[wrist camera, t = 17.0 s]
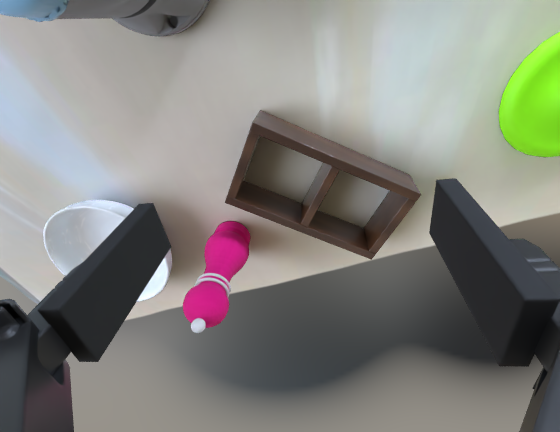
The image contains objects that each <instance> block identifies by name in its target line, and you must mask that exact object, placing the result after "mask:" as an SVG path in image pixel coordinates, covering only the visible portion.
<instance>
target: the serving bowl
mask: <svg viewBox="0 0 560 432" xmlns="http://www.w3.org/2000/svg"><path fill="white" fill-rule="evenodd" d="M133 210H134V208H132V207H130V206H127V205H124V204H121V203H118V202H114V201H108V200H88V201H82V202H78V203H75V204H72V205H70V206H67V207H65V208H63V209H61V210H59V211H58V212H56V213H55V214H53V215H52V216H51V217H50V218H49V220H48V221H47V223H46V225H45V228H44V233H43V238H44V245H45V248H46V251H47V253H48V255H49V257H50V259H51V260H52V262H53V263H54V265H55V266H56V267H57V268H58V269H59V271H60V272H61V273H62V274H63V275H64V276H66V275H67V274H68V273H69V272H70V271H71V270H72V269H74V268H75V267H77V266H78V265H79V264H81V263H82V262H84V261H85V260H86V259H87V258H88V257H89V255H90V254H91V253H92V252H93V251H94V250H95V249H96V248H97V247H98V246H99V245H100V244H101V243H102V242H103V241H104V240H105V239H106V238H107V237H108V236H109V235H110V234H111V233H112V232H113V230H114V229H115V228H116V227H117V226H118V225H119V224H120V223H121V222H122V221H123V220H124V219H125V218H126V217H127V216H128V215H129V214H130V213H131V212H132V211H133ZM171 268H172V254H171V249H170V250H169V251H168V253H167V254H166V256H165V258H164V259H163V261H162V262H161V264H160V265H159V267H158V269H157V270H156V272H155V273H154V275H153V276H152V278H151V280H150V281H149V283H148V284H147V286H146V287H145V289H144V290H143V292H142V294H141V295H140V297H139V298H138V300H137V301H136V302H139V301H144V300H147V299H150V298H152V297H154V296H156V295H157V294H159V293H160V292H161V291H162V290H163V289H164V287H165V286H166V284H167V282H168V279H169V276H170V273H171Z"/></svg>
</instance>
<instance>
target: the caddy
mask: <svg viewBox="0 0 560 432" xmlns="http://www.w3.org/2000/svg"><path fill="white" fill-rule="evenodd" d="M260 136H262V137H264V138H267V139H269V140H272V141H274V142H276V143H279V144H281V145H283V146H286V147H288V148H291V149H293V150H295V151H298V152H300V153H302V154H305V155H307V156H309V157H312V158H314V159H317V160H319V161H321V162H323V164H322V166H321V168H320V170H319V172H318V174H317V176H316V177H315V179H314V181H313V183H312V185H311V187H310V189H309V191H308V193H307V195H306V197H305V199H304V201H303V203H302V204H301V203H299V202H296V201H294V200H291V199H289V198H286V197H284V196H281V195H279V194H276V193H274V192H271V191H269V190H266V189H264V188H261V187H259V186H256V185H254V184H251V183H249V182H246V181H244V178H245V175H246V173H247V170H248V167H249V164H250V162H251V159H252V156H253V154H254V151H255V148H256V145H257V143H258V140H259V137H260ZM339 170H343V171H345V172H347V173H350V174H352V175H354V176H357V177H359V178H362V179H364V180H366V181H369V182H371V183H373V184H376V185H378V186H381V187H383V188H385V189H388V190H390V191H389V193H388V194H387V196H386V197H385V199H384V200H383V202H382V203H381V204H380V206H379V207H378V209H377V210H376V212H375V213H374V215H373V216H372V217H371V219H370V220H369V222H368V223H367V225H366V226H365V227H364V229H363V228H361V227H358V226H356V225H354V224H351V223H349V222H346V221H344V220H341V219H339V218H336V217H334V216H331V215H329V214H326V213H324V212H321V211H319V210H318V208H319V206H320V204H321V202H322V201H323V199H324V197H325V195H326V193H327V192H328V190H329V188H330V186H331V185H332V183H333V181H334V179H335V177H336V176H337V174H338V172H339ZM420 196H421V193H420V191H419V189H418V188H417V186H416V184H415V183H414V181H413V179H412V178H411V176H410V175H409V174H407V173H404V172H402V171H400V170H397V169H395V168H393V167H390V166H388V165H386V164H383V163H381V162H379V161H377V160H374V159H372V158H370V157H367V156H365V155H363V154H360V153H358V152H356V151H353V150H351V149H349V148H347V147H344V146H342V145H340V144H337V143H335V142H333V141H330V140H328V139H326V138H323V137H321V136H319V135H316V134H314V133H312V132H310V131H307V130H305V129H303V128H300V127H298V126H296V125H293V124H291V123H289V122H286V121H284V120H282V119H280V118H277V117H275V116H273V115H270V114H268V113H266V112H263V111H261V110H260V111H259V113H258V115H257V116H256V118H255V119H254V121H253V123H252V126H251V128H250V131H249V134H248V137H247V140H246V143H245V146H244V149H243V152H242V154H241V157H240V160H239V163H238V166H237V169H236V172H235V175H234V177H233V180H232V183H231V186H230V189H229V192H228V195H227V198H226V201H225V203H227V204H230V205H233V206H235V207H238V208H240V209H243V210H245V211H248V212H251V213H253V214H256V215H258V216H261V217H263V218H266V219H269V220H271V221H274V222H276V223H279V224H281V225H284V226H287V227H289V228H292V229H294V230H297V231H300V232H302V233H305V234H307V235H310V236H312V237H315V238H318V239H320V240H323V241H325V242H328V243H330V244H333V245H336V246H338V247H341V248H343V249H346V250H349V251H351V252H354V253H356V254H359V255H361V256H364V257H367V258H369V259H372V258H373V257H374V256H375V254H376V253H377V252H378V250H379V249H380V248H381V247H382V245H383V244H384V243H385V241H386V240H387V239H388V237H389V236H390V235H391V234H392V232H393V231H394V230H395V228H396V227H397V226H398V224H399V223H400V222H401V221H402V219H403V218H404V217H405V215H406V214H407V213H408V211H409V210H410V209H411V208H412V206H413V205H414V204H415V202H416V201H417V200H418V198H419V197H420Z"/></svg>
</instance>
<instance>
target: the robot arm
mask: <svg viewBox="0 0 560 432" xmlns="http://www.w3.org/2000/svg"><path fill="white" fill-rule="evenodd" d="M208 2H209V0H0V14H2V15H6V16H13V17H22V18H27V19H30V20H35V21H38V22H42V21H52V20H54V19H81V18H112V19H113V20H115V21H116V22H118V23H119V24H121V25H123V26H124V27H126V28H128V29H130V30H132V31H135V32H138V33H141V34H145V35H150V36H167V35H173V34H177V33H180V32H182V31H184V30H186V29H187V28H189V27H190V26H191V25H193V24H194V23H195V22H196V21H197V20H198V19H199V17H200V16H201V15H202V13H203V12H204V10H205V8H206V7H207V4H208ZM429 233H430V235H431V237H432V239H433V241H434V243H435V244H436V246H437V248H438V250H439V252H440V254H441V256H442V258H443V260H444V262H445V263H446V265H447V267H448V269H449V271H450V273H451V275H452V277H453V279H454V281H455V283H456V285H457V286H458V288H459V290H460V292H461V294H462V296H463V298H464V300H465V302H466V304H467V306H468V307H469V309H470V311H471V313H472V315H473V317H474V319H475V321H476V323H477V325H478V327H479V329H480V330H481V332H482V334H483V336H484V338H485V340H486V342H487V344H488V346H489V348H490V350H491V351H492V353H493V355H494V357H495V359H496V361H497V363H498V364H499V366H529V364H530V362H531V360H532V358H533V356H534V354H535V355H536V356H537V358H538V359H539V361H540V362H541V364H542V365H543V369H542V371H541V373H540V375H539V377H538V379H537V381H536V383H535V385H534V387H533V389H535V390H534V393H533V395H532V398H531V401H530V404H529V407H528V409H527V412H526V415H525V417H524V420H523V423H522V426H521V429H520V431H519V432H560V268H559V267H558V266H557V265H556V264H555V263H554V262H553V261H551V259H550V258H549V257H548V256H547V255H546V254H545V253H544V251H542V249H541V248H539V247H538V246H536V245H534V244H532V243H530V242H529V241H527V240H525V239H508V238H507V237H506V236H505V235H504V233H503V232H502V231H501V230H500V229H499V227H498V226H497V225H496V224H495V223H494V222H493V221H492V219H491V218H490V217H489V216H488V215H487V214H486V213H485V211H484V210H483V209H482V208H481V207H480V206H479V204H478V203H477V202H476V201H475V200H474V199H473V198H472V196H471V195H470V194H469V193H468V192H467V191H466V189H465V188H464V187H463V186H462V185H461V184H460V183H459V181H458V180H457V179H443V180H436V188H435V195H434V202H433V210H432V217H431V224H430V232H429ZM170 248H171V245H170V243H169V240H168V238H167V236H166V233H165V231H164V228H163V226H162V224H161V221H160V219H159V216H158V214H157V212H156V209H155V207H154V204H153V203H146V204H138V205H137V207H136V208H135V209H134V210H133V211H132V212H131V213H130V214H129V215H128V216H127V217H126V218H125V219H124V220H123V221H122V222H121V223H120V224H119V225H118V226H117V227H116V228H115V229H114V230H113V232H112V233H111V234H110V235H109V236H108V237H107V238H106V239H105V240H104V241H103V242H102V243H101V244H100V245H99V246H98V247H97V248H96V249H95V250H94V251H93V252H92V253H91V254H90V255H89V257H88V258H87V259H86V260H85V261H84V262H82V263H81V264H79V265H78V266H77V267H75V268H74V269H72V270H71V271H70V272H69V273H68V274H67V275H66V276H65V277H64V278H63V281H60V282H59V283H58V284H57V285H56V286H55V289H53V290H52V291H51V292H50V293H49V294H48V295H47V296H46V297H45V298H44V299H43V300H42V301H41V302H40V303H39V304H38V305H37V306H36V307H35V308H34V309H33V310H32V311H31V312H30V313H29V314H28V315H26V313H25V312H24V311H23V310H22V309H21V308H20V306H19V305H18V304H17V303H16V302H15V301H14V300H12V299H5V300H0V432H74V426H73V412H72V397H71V382H70V367H69V365H68V363H67V361H66V360H65V359H66V358H67V356H68V355H69V354H70V352H72V353H73V354H74V356H75V357H76V358H77V359H78V360H79V362H85V361H86V362H98V361H99V359H100V358H101V356H102V355H103V353H104V352H105V350H106V348H107V347H108V345H109V344H110V342H111V341H112V339H113V338H114V336H115V334H116V333H117V331H118V330H119V328H120V327H121V325H122V323H123V322H124V320H125V319H126V317H127V316H128V314H129V312H130V311H131V309H132V308H133V306H134V305H135V303H136V301H137V300H138V298H139V297H140V295H141V294H142V292H143V290H144V289H145V287H146V286H147V284H148V283H149V281H150V280H151V278H152V276H153V275H154V273H155V272H156V270H157V269H158V267H159V265H160V264H161V262H162V261H163V259H164V258H165V256H166V254H167V253H168V251H169V250H170Z"/></svg>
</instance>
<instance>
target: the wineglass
mask: <svg viewBox="0 0 560 432" xmlns="http://www.w3.org/2000/svg"><path fill="white" fill-rule="evenodd" d="M499 123H500V128H501V131H502V133H503V135H504V138H505V140H506V141H507V142H508V143H509V144H510V145H511V146H512V147H513V148H514V149H516V150H518V151H520V152H523V153H525V154H527V155H532V156H539V157H553V156H560V32H559V33H557V34H555V35H554V36H552V37H551V38H549V39H547V40H546V41H544V42H543V43H542V44H541V45H540V46H538V47H537V48H536V49H535V50H534V51H533V52H532V53H531V54H530V55H528V56H527V57H526V58H525V59H524V61H523V62H522V63H521V65H520V66H519V67H518V69H517V70H516V71H515V72H514V74H513V75H512V76H511V78H510V80H509V82H508V84H507V86H506V89H505V91H504V93H503V95H502V99H501V104H500V108H499Z"/></svg>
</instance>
